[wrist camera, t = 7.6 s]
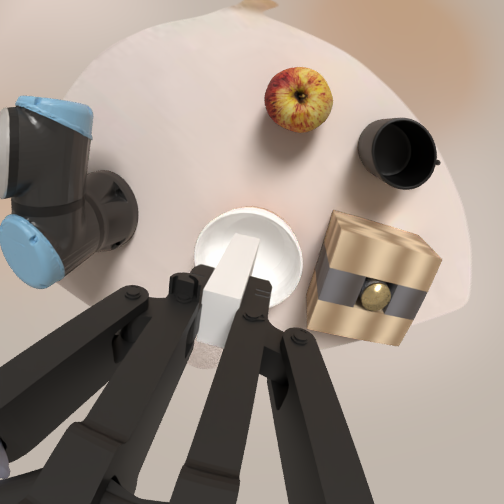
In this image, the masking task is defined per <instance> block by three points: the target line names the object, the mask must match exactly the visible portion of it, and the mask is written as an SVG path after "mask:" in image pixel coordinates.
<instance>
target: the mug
mask: <svg viewBox="0 0 504 504" xmlns="http://www.w3.org/2000/svg"><path fill="white" fill-rule="evenodd" d="M358 151H359V156H360V159H361V161H362V163H363V165H364V166H365V168H366V169H367V170H368V171H369V172H370V173H372V174H373V175H374V176H376V177H378V178H379V179H381V180H382V181H384V182H386V183H387V184H389V185H390V186H392V187H395V188H398V189H403V190H409V189H414V188H417V187H419V186H421V185H422V184H424V183H425V182H426V181H427V180H428V179H429V178H430V176H431V175H432V173H433V171H434V168H435V165H440V161H439V160H436V159H437V152H436V146H435V143H434V140H433V138H432V136H431V135H430V133H429V132H428V130H427V129H426V128H425V127H424V126H422V125H421V124H420V123H418V122H417V121H414V120H412V119H408V118H392V119H382V120H377V121H374V122H372V123H371V124H369V125H368V126H367V127H366V128H365V129H364V130H363V132H362V134H361V136H360V139H359V144H358Z"/></svg>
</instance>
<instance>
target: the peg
mask: <svg viewBox="0 0 504 504" xmlns="http://www.w3.org/2000/svg"><path fill="white" fill-rule="evenodd" d="M359 295H360V298H361V301H362V304H363V306H364V307H365V308H366V309H367V310H370V311H378V310H381V309H383V308H384V307H385V306H387V304H388V303H389V301H390V299H391V292H390V290H389V288H388V286H387V284H386V282H385V281H382V280H378V279H374V278H370V277H366V278H365V281H364V283H363V286H362V288H361V291H360V293H359Z"/></svg>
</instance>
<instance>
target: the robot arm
mask: <svg viewBox="0 0 504 504" xmlns="http://www.w3.org/2000/svg"><path fill="white" fill-rule="evenodd" d="M15 105H16V107H10V108H3V109H2V110H1V111H0V198H1V199H6V198H11V205H12V214H10V215H8V216H6V217H5V219H4V220H3V221H2V223H1V225H0V245H1V249H2V252H3V254H4V257H5V259H6V261H7V262H8V264H9V266H10V267H11V269H12V270H13V272H14V273H15V274H16V275H17V276H18V277H19V278H20V279H21V280H22V281H23V282H24V283H26V284H27V285H29V286H31V287H33V288H37V289H44V288H47V287H49V286H51V285H52V284H54V283H55V282H57V281H60V280H61V279H63V278H64V277H65V276H66V275H67V274H68V273H70V272H71V271H72V270H73V269H75V268H76V267H77V266H78V265H80V264H81V263H82V262H84V261H85V260H86V259H87V258H89V257H90V256H91V255H93V254H94V253H95V252H102V251H108V250H113V249H116V248H118V247H120V246H121V245H123V244H124V243H125V242H127V241H128V240H129V239H130V238H131V236H132V235H133V233H134V231H135V229H136V226H137V222H138V207H137V202H136V199H135V196H134V194H133V192H132V190H131V188H130V187H129V185H128V184H127V183H126V181H125V180H124V179H123V178H121V177H120V176H119V175H117V174H115V173H113V172H110V171H105V170H100V171H96V172H92V173H89V174H87V169H88V160H89V151H90V144H91V140H92V135H91V134H92V124H93V112H92V110H91V108H90V107H89V106H87V105H85V104H81V103H76V102H70V101H65V100H58V99H51V98H41V97H33V96H20V97H19V98H18V100H17V102H16V104H15ZM259 243H260V239H259V238H255V237H251V236H246V235H242V234H238V233H235V234H234V236H233V238H232V239H231V241H230V243H229V245H228V247H227V248H226V250H225V252H224V254H223V255H222V257H221V259H220V261H219V262H218V264H217V266H216V268H214V267H210V266H207V265H203V264H200V265H198V266H196V267H194V268H193V269H192V271H191V272H190V273H176V274H173V275H172V276H170V283H169V294H168V296H167V297H166V298H152V297H149V293H148V291H147V290H146V289H144V288H143V287H140V286H136V285H129V286H125V287H122V288H120V289H119V290H117V291H116V292H114V293H112V294H111V295H109V296H108V297H106V298H104V299H103V300H101V301H100V302H98V303H96V304H95V305H93V306H92V307H90V308H89V309H87V310H85V311H84V312H82V313H81V314H79V315H78V316H76V317H75V318H73V319H71V320H70V321H68V322H67V323H65V324H64V325H62V326H61V327H59V328H58V329H56V330H55V331H53V332H52V333H50V334H48V335H47V336H45V337H44V338H43V339H41V340H39V341H38V342H36V343H35V344H34V345H32V346H31V347H29V348H28V349H26V350H25V351H23V352H22V353H20V354H19V355H17V356H16V357H14V358H13V359H12V360H10V361H9V362H7V363H6V364H4V365H3V366H1V367H0V478H3V480H0V504H236V501H237V497H238V492H239V486H240V480H239V475H240V469H241V464H242V460H243V455H244V450H245V445H246V439H247V434H248V430H249V424H250V419H251V414H252V409H253V403H254V398H255V393H256V387H257V381H258V376H259V374H261V375H263V376H265V377H267V385H268V390H269V396H270V402H271V407H272V413H273V419H274V424H275V430H276V436H277V441H278V447H279V452H280V458H281V464H282V469H283V474H284V480H285V485H286V491H287V496H288V502H289V504H374V501H373V498H372V495H371V492H370V489H369V486H368V483H367V481H366V477H365V474H364V471H363V468H362V466H361V463H360V460H359V457H358V454H357V451H356V448H355V446H354V443H353V440H352V437H351V434H350V431H349V428H348V426H347V423H346V420H345V417H344V414H343V412H342V409H341V406H340V403H339V401H338V398H337V395H336V392H335V390H334V387H333V384H332V382H331V379H330V377H329V374H328V371H327V368H326V366H325V363H324V361H323V358H322V355H321V353H320V350H319V347H318V345H317V342H316V339H315V338H314V336H313V335H312V334H311V333H309V332H308V331H306V330H304V329H301V328H289V329H287V330H286V331H285V332H283V331H281V330H279V329H277V328H275V327H274V326H273V325H272V324H271V323H270V322H269V320H268V310H269V304H270V298H271V292H272V285H271V283H270V281H269V280H265V279H261V278H257V277H253V276H252V273H253V268H254V264H255V260H256V256H257V252H258V247H259ZM196 335H197V340H196V341H199V342H202V343H206V344H209V345H213V346H216V347H220V348H224V349H223V352H222V355H221V358H220V361H219V364H218V367H217V370H216V374H215V377H214V379H213V382H212V385H211V388H210V391H209V394H208V397H207V400H206V403H205V406H204V409H203V412H202V415H201V418H200V421H199V424H198V427H197V430H196V433H195V436H194V439H193V442H192V445H191V447H190V450H189V453H188V456H187V459H186V462H185V464H184V465H183V466H182V469H181V471H180V474H179V476H178V479H177V482H176V485H175V488H174V491H173V494H172V497H171V499H170V502H161V501H153V500H146V499H141V498H138V497H136V496H135V495H134V493H135V490H136V485H137V478H138V475H139V472H140V470H141V467H142V465H143V463H144V460H145V458H146V456H147V453H148V451H149V449H150V446H151V444H152V442H153V439H154V437H155V434H156V432H157V430H158V428H159V425H160V423H161V421H162V418H163V416H164V414H165V412H166V409H167V407H168V405H169V402H170V400H171V398H172V395H173V393H174V391H175V388H176V386H177V384H178V382H179V379H180V377H181V375H182V373H183V370H184V368H185V366H186V364H187V361H188V359H189V357H190V355H191V352H192V350H193V346H194V340H195V338H196ZM109 380H110V381H109ZM108 381H109V382H108ZM107 382H108V384H107V385H106V387H105V388H104V390H103V391H102V393H101V394H100V396H99V398H98V399H97V401H96V402H95V404H94V406H93V407H92V409H91V410H90V412H89V414H88V415H87V417H86V418H85V419H84V421H82V422H74V423H72V424H71V425H70V426H69V427H68V429H67V430H66V432H65V433H64V435H63V436H62V438H61V439H60V441H59V443H58V444H57V446H56V447H55V449H54V451H53V452H52V454H51V456H50V457H49V459H48V461H47V462H46V464H45V466H44V467H43V468H41V469H38V470H35V471H31V472H28V473H25V474H21V475H18V476H14V477H11V478H8V477H9V475H10V469H9V463H10V462H13V461H15V460H17V459H19V458H20V457H22V456H24V455H25V454H27V453H28V452H29V451H31V450H32V449H33V448H34V447H35V446H37V445H38V444H39V443H40V442H41V441H42V440H43V439H45V438H46V437H47V436H48V435H49V434H50V433H51V432H52V431H53V430H55V429H56V428H57V427H58V426H59V425H60V424H61V423H62V422H64V421H65V420H66V419H67V418H68V417H69V416H70V415H71V414H72V413H74V412H75V411H76V410H77V409H78V408H79V407H80V406H81V405H82V404H83V403H85V402H86V401H87V400H88V399H89V398H90V397H91V396H93V395H94V394H95V393H96V392H97V391H98V390H99V389H100V388H101V387H103V386H104V385H105V384H106V383H107ZM5 478H7V479H5Z"/></svg>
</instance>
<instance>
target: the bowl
mask: <svg viewBox="0 0 504 504" xmlns="http://www.w3.org/2000/svg"><path fill="white" fill-rule="evenodd" d="M235 233H238V234H242V235H246V236H251V237H255V238H259V239H260V243H259V247H258V252H257V256H256V260H255V264H254V268H253V273H252V276H253V277H257V278H261V279H265V280H269V281H270V283H271V285H272V292H271V298H270V304H269V308H270V307H273V306H275V305H277V304H279V303H281V302H282V301H284V300H285V299H286V298H288V297H289V296H290V295H291V293H292V292H293V291H294V290H295V288H296V287H297V285H298V283H299V281H300V278H301V274H302V269H303V258H302V252H301V249H300V246H299V244H298V241H297V238H296V236H295V234H294V232H293V231H292V229H291V228H290V226H289V225H288V224H287V223H286V222H285V221H284V220H283V219H282V218H281V217H280V216H278V215H277V214H275V213H274V212H271V211H269V210H267V209H264V208H259V207H240V208H236V209H233V210H230V211H228V212H225V213H224V214H222V215H220V216H218V217H217V218H215V219H214V220H212V221H211V222H210V223H209V224H208V225H207V226H206V227H205V228H204V229H203V230H202V232H201V233H200V235H199V237H198V239H197V242H196V245H195V250H194V263H195V267H196V266H198V265H200V264H203V265H207V266H210V267H214V268H216V266H217V264H218V262H219V261H220V259H221V257H222V255H223V254H224V252H225V250H226V248H227V247H228V245H229V243H230V241H231V239H232V238H233V236H234V234H235Z"/></svg>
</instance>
